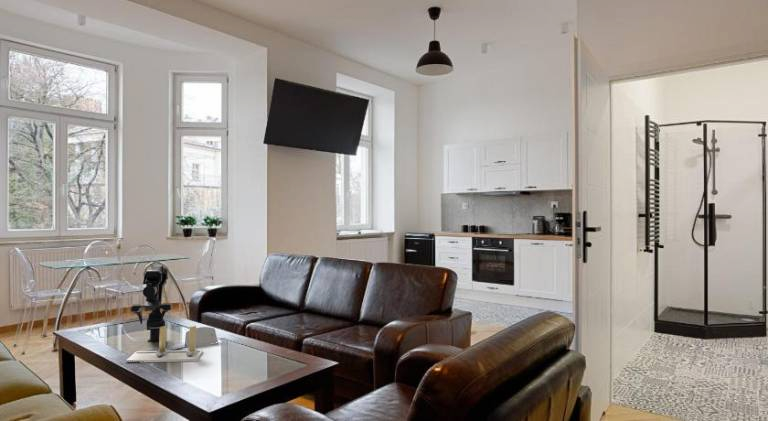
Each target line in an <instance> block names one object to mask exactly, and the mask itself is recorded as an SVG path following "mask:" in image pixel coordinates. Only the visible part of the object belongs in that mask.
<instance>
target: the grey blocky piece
mask: <svg viewBox="0 0 768 421" xmlns="http://www.w3.org/2000/svg"><path fill="white" fill-rule="evenodd" d="M189 331H190V329H188V331H186V332H185V339H184V340H185V341H184V346H186V348H189ZM216 342H218V337H217V332H216V328H213V327H211V326H210V327H208V326H199V327H196V344H195V347H201V346H200V345H202V346H208V345H207V344H209V345H212V344H211V343H216ZM218 343H219V342H218ZM216 344H217V343H216Z"/></svg>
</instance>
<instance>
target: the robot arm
mask: <svg viewBox="0 0 768 421" xmlns="http://www.w3.org/2000/svg"><path fill="white" fill-rule="evenodd" d="M168 280H169V271H168V269H167V268H165V265H163V264H155V265H153V267H152V268H151V269H147V270H146V272H144V275H143V281H142V285H145V287H144V288H143V290H142V295H143V296H144V297H145V302H144V305H142V304H141V303H135V304H133V305H132V306H131V307H130V312H132V313H133V314H136V315H137V317H138V319H139V322H140V325H142V324H143V311H142V310H145V311H146V312H150V311H151V312H150V313H149V314H148V319H146V331H149V339H148V340H147V342H149V343H150V342H159V335H160V327H161V326H166V320H165V314H166V313H167V312H169V311H171V310H172V307H173V304H172V303H171V302H164V303H162V302H163V293H164V292H163V291H164V287H165V286H166V284H167V281H168Z"/></svg>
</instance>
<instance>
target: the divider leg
mask: <svg viewBox="0 0 768 421" xmlns="http://www.w3.org/2000/svg"><path fill="white" fill-rule="evenodd" d="M158 342H159V343H158V350H156V351H157V352H156V355H159V356H161V355H166V354H167V353H168V351H169V349H168V348H167V347H166V346H167V326H166V325H165V326H161V327H160V335H159V341H158Z"/></svg>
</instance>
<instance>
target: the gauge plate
mask: <svg viewBox="0 0 768 421" xmlns="http://www.w3.org/2000/svg"><path fill="white" fill-rule="evenodd" d="M196 328H197V325H190V326H189V330H190V331H189V330H188V331H189V347H188V349H186V350H185V349H184V350H182V349H180V350H168V353H167V354H166V355H161V356H159V355H156V352H157V351H158V350H139V351H138V350H136V351H135V352H134V353H132V355H130V356H129V357H128V358H127V359H126V360H127V361H128V360H129V361H130V360H131V361H132V360H133V361H144V362H143V363H172V362H173V363H175V362H176V363H177V362H178V363H180V362H181V363H182V362H197V361H198V360H199V359H200V357H201V356H202V354H203V353H204V350H203V349H199V348H196V346H195V344H196Z"/></svg>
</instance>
